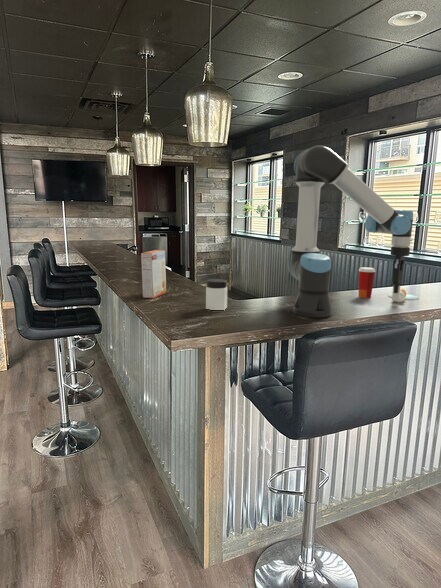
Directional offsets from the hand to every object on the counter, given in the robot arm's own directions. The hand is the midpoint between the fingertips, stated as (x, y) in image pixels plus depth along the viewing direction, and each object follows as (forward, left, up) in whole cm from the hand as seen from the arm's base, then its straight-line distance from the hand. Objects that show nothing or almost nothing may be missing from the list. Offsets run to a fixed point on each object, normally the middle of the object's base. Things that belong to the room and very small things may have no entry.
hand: (395, 299), depth 183 cm
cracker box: (-98, -49, -2) cm, 109 cm away
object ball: (0, +11, +1) cm, 11 cm away
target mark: (0, +20, -2) cm, 20 cm away
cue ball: (0, +6, +1) cm, 6 cm away
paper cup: (-15, +8, -2) cm, 18 cm away
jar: (-59, -54, -2) cm, 80 cm away
